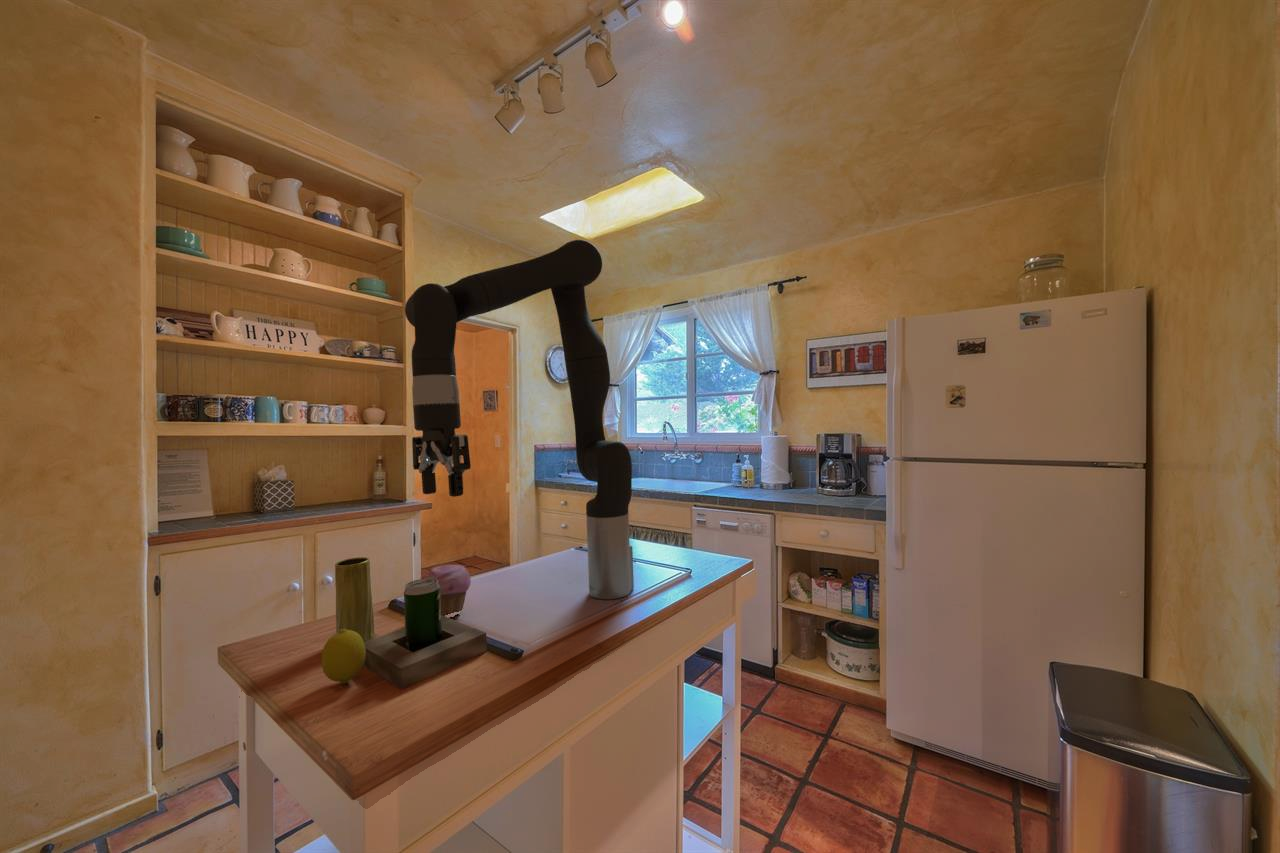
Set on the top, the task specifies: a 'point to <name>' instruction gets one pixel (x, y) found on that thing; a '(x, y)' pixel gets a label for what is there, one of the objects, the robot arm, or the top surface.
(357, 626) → the vase
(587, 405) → the robot arm
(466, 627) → the can holder block
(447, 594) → the cupcake
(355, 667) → the lemon
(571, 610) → the top surface
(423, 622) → the beer can
